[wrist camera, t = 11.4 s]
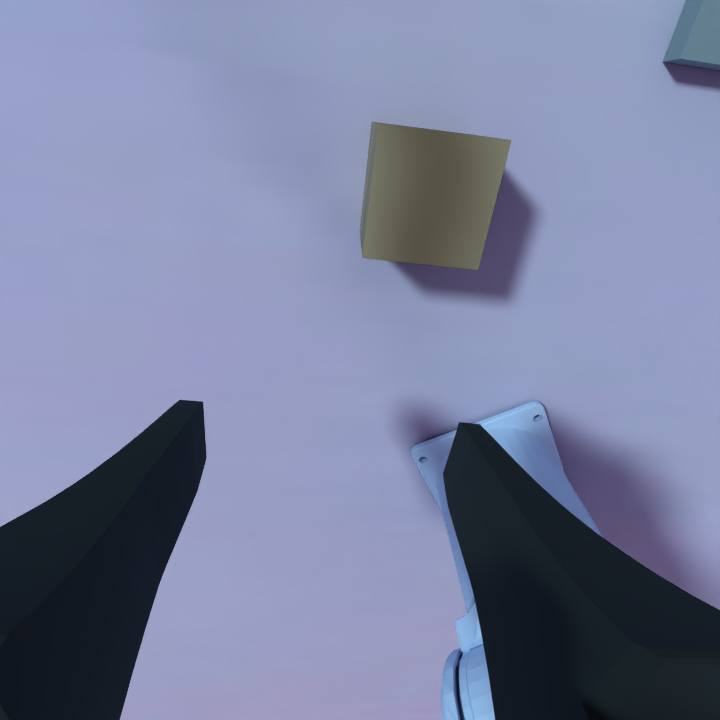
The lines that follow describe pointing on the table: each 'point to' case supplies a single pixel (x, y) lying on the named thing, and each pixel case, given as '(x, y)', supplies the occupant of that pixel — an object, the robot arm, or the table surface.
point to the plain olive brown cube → (429, 195)
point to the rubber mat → (697, 36)
